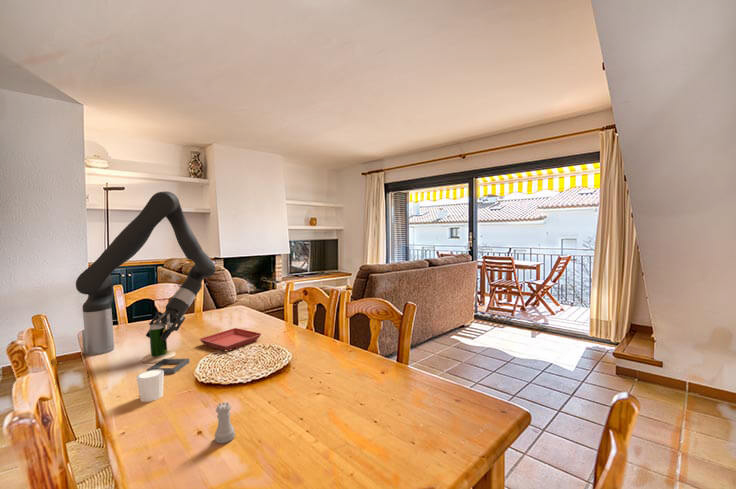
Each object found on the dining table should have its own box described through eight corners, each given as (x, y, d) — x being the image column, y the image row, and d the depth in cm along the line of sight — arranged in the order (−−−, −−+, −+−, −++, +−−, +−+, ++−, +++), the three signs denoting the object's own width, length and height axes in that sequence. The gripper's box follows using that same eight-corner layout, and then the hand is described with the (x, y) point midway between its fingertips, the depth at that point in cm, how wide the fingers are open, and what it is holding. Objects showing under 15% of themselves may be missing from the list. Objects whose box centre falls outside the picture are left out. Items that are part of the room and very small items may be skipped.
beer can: (151, 359, 131) (149, 327, 130) (150, 355, 135) (148, 324, 135) (168, 356, 134) (166, 325, 133) (166, 352, 138) (164, 322, 138)
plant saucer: (262, 340, 152) (262, 333, 152) (226, 354, 137) (225, 345, 137) (235, 334, 162) (235, 327, 162) (198, 346, 147) (198, 339, 146)
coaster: (135, 363, 129) (135, 361, 129) (154, 352, 140) (154, 351, 140) (164, 363, 129) (164, 361, 129) (181, 352, 140) (181, 350, 140)
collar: (146, 373, 119) (146, 369, 119) (164, 362, 129) (163, 358, 129) (174, 373, 119) (173, 369, 119) (189, 362, 128) (189, 358, 128)
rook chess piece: (218, 433, 83) (216, 400, 83) (237, 432, 84) (235, 399, 83) (211, 445, 79) (209, 410, 78) (232, 443, 79) (230, 409, 79)
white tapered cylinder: (170, 393, 105) (169, 370, 104) (149, 404, 98) (148, 380, 98) (153, 390, 107) (152, 367, 107) (131, 401, 101) (130, 377, 100)
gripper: (162, 295, 143) (135, 331, 133) (186, 297, 137) (160, 335, 127) (175, 305, 148) (150, 340, 139) (199, 308, 142) (174, 345, 132)
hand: (155, 338), depth 133 cm, fingers open, 8 cm apart
